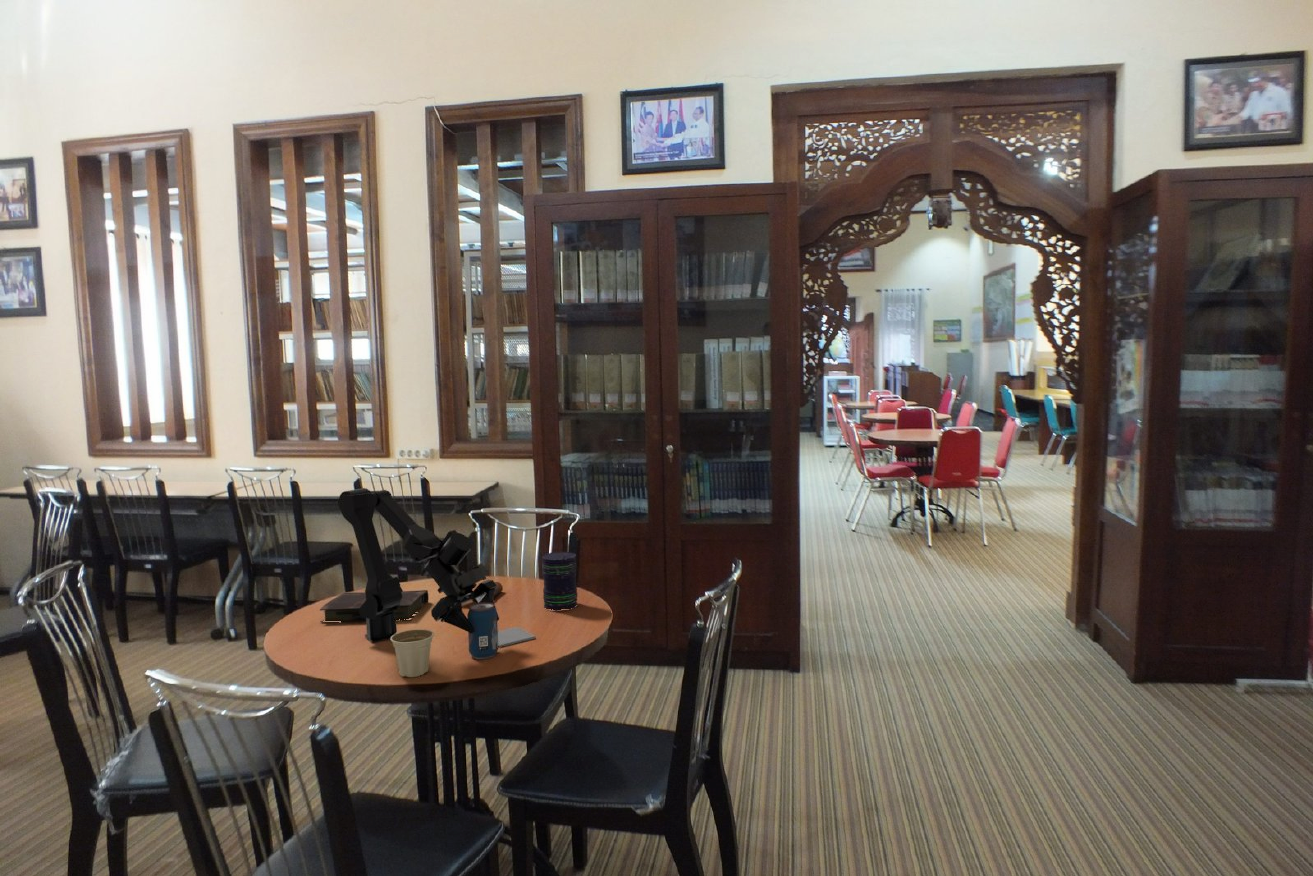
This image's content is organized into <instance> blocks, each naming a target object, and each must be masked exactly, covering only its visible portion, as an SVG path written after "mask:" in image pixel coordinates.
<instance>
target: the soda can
mask: <svg viewBox="0 0 1313 876" xmlns="http://www.w3.org/2000/svg"><path fill="white" fill-rule="evenodd" d="M494 604H495V603H494ZM494 604H492V603H476V604H473V605H471V606H470V609H468V611H467V614H466V617H467V619H468V620H469V622H470V623H471V624H472V626H473V628H474V630H475V631H474V633H472V634H471V633H469V632H467V637H468V638H467V639H468V641H467V642H468V652H469V655H471V657H472V658H473V659H476V660H477V659H478V660H482V659H485V660H486V659H491V658H493V657H495V656H496V654H497V652H498V651H499V647H498V631H499V629H498V621H497V613H498V611H497V608H496V606H495V607H494ZM495 608H496V609H495Z"/></svg>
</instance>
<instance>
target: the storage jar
mask: <svg viewBox="0 0 1313 876" xmlns="http://www.w3.org/2000/svg"><path fill="white" fill-rule="evenodd" d="M576 557H577V556H576V553H574V552H570V551H555V552H548V553H545V554H543V555H542V557H541V560H542V561H541V563H542V564H541V566H542V567H541V568H542V569H541V570H542V572H541V573H542V576H543V590H542V592H543V595H542V596H543V597H542V598H543V604H544V605H543V608H546V609H551V610H552V609H553V610H561V609H571V608H574V607H575V606H576V605H577V606H578V587H577V583H576V582H577V581H576V575H577V561H576V560H577V559H576ZM546 609H545V610H546ZM574 609H575V608H574ZM571 610H572V609H571Z"/></svg>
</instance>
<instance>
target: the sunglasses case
mask: <svg viewBox="0 0 1313 876" xmlns="http://www.w3.org/2000/svg"><path fill="white" fill-rule="evenodd" d="M494 582H495V584H496V585H497V587H496V588H495V592H494V595H493V599H494V598H495V597H496V596H497V595H498V594H500V593H502V592H503V590H504V587H503V584H502V583H501V582H499V581H494ZM501 591H502V592H501ZM467 598H468V597H467ZM473 604H476V603H474V602H473V601H472V600H471V601H468V602H466V603H464V604H462V610H464V609H466V610H469V609H470V606H471V605H473Z"/></svg>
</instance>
